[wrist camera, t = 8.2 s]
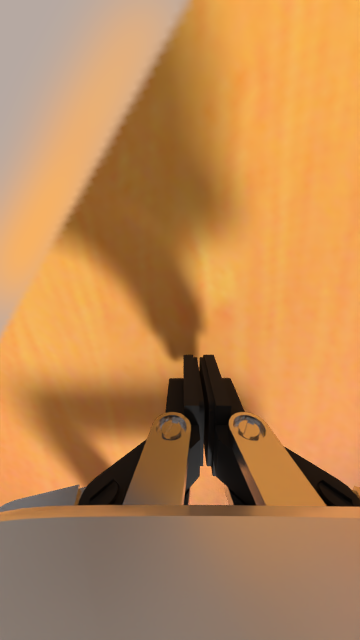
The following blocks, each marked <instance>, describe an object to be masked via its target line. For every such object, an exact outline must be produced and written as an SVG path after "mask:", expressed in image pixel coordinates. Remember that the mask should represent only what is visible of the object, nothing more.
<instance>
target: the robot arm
mask: <svg viewBox="0 0 360 640" xmlns="http://www.w3.org/2000/svg"><path fill="white" fill-rule="evenodd" d="M203 448H204V449H205V457H206V465H207V466H211V468H212V475H213V476H216V477H217V478H219V479H220V480H221V481H222V482H223V483H224V489H225V493H226V497H227V500H228V503H229V505H189V503H190V493H191V486H192V484H193V483H194V482H195V481H196V480H197V479H198V477H199V475H200V466H203ZM0 640H360V487H356V486H354V488H353V490H351V489H350V488H349V487H348V486H347V485H345V484H344V483H342V482H341V481H340V480H338V479H337V478H335V477H333V476H332V475H330V474H328V473H327V472H325V471H324V470H322V469H320V468H319V467H317V466H315V465H314V464H312V463H310V462H309V461H307V460H305V459H304V458H302V457H301V456H299V455H297V454H296V453H294V452H292V451H291V450H289V449H287V448H286V447H284V446H283V445H282V444H281V442H280V441H279V440H278V438H277V437H276V435H275V434H274V433H273V431H272V430H271V429H270V427H269V426H268V424H267V423H266V422H265V421H264V420H263V419H261V418H260V417H259V416H257V415H254V414H252V413H248V412H245V411H244V409H243V407H242V404H241V402H240V400H239V397H238V395H237V393H236V390H235V388H234V386H233V383H232V381H231V379H230V378H222V377H221V375H220V372H219V369H218V366H217V363H216V360H215V358H214V355H203V357H200V366H199V367H198V361H197V357H193V355H184V378H170V379H169V386H168V395H167V404H166V412H165V413H164V414H162V415H160V416H159V417H157V418H156V419H155V421H154V422H153V424H152V427H151V430H150V432H149V435H148V438H147V439H146V440H145V441H144V442H142V443H141V444H140V445H138V446H137V447H136V448H134V449H133V450H132V451H131V452H129V453H128V454H127V455H125V456H124V457H123V458H121V459H120V460H119V461H117V462H116V463H115V464H113V465H112V466H111V467H109V468H108V469H107V470H105V471H104V472H103V473H101V474H100V475H99V476H97V477H96V478H95V479H94V480H93V481H92V482H91V483H90V484H88V486H87V487H84V488H80V485H75V486H71V487H67V488H63V489H59V490H55V491H51V492H47V493H43V494H39V495H34V496H30V497H26V498H22V499H18V500H14V501H12V502H9V503H7V504H4V505H3V506H1V507H0Z"/></svg>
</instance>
